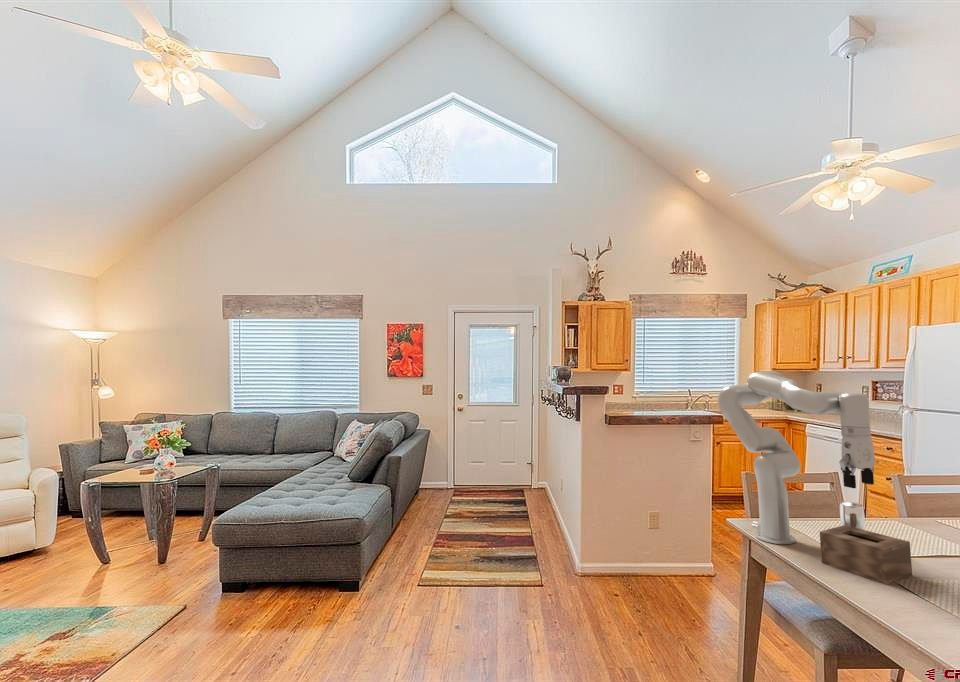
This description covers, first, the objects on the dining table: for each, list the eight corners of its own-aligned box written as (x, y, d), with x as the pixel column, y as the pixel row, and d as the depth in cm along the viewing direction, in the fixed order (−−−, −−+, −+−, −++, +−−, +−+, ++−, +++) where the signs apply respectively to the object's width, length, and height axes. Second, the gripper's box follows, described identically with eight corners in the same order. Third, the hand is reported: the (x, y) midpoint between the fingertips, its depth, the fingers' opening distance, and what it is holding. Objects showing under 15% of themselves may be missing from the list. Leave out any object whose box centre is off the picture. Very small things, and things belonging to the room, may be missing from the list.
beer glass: (861, 544, 172) (858, 502, 173) (871, 551, 165) (867, 507, 166) (838, 543, 174) (835, 501, 175) (847, 550, 167) (844, 506, 168)
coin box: (821, 562, 157) (819, 531, 158) (846, 555, 163) (844, 525, 163) (886, 584, 141) (884, 549, 141) (912, 575, 146) (909, 541, 147)
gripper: (852, 435, 147) (856, 491, 146) (884, 431, 155) (887, 484, 154) (826, 432, 154) (829, 486, 153) (858, 428, 161) (861, 480, 160)
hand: (858, 485), depth 153 cm, fingers open, 9 cm apart
